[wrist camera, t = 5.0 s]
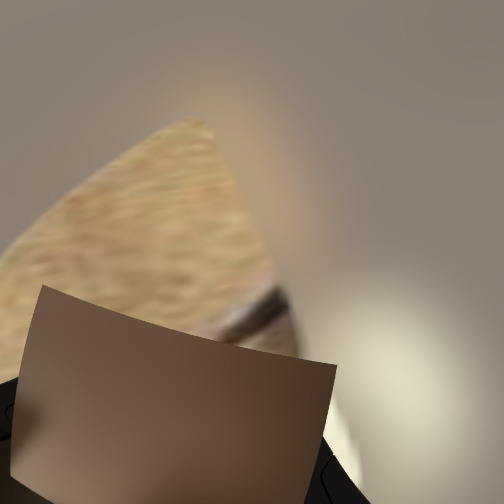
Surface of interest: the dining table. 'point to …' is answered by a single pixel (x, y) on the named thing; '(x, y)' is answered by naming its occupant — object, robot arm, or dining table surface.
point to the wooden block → (160, 413)
